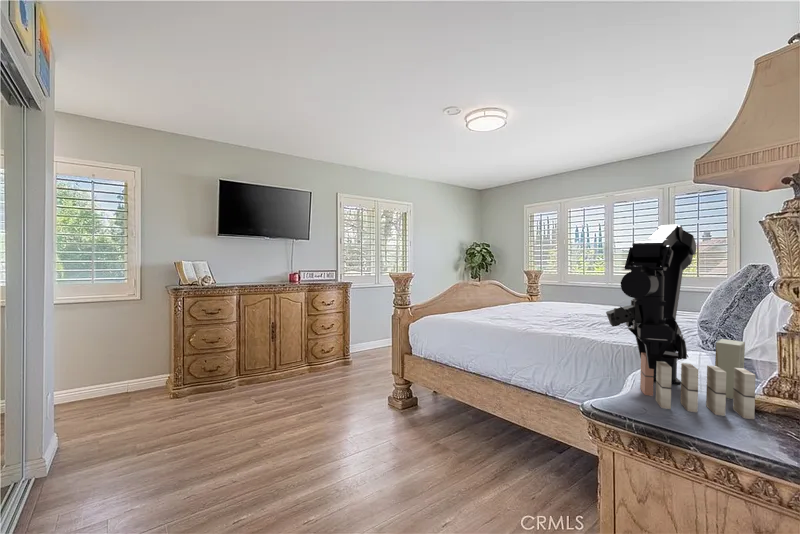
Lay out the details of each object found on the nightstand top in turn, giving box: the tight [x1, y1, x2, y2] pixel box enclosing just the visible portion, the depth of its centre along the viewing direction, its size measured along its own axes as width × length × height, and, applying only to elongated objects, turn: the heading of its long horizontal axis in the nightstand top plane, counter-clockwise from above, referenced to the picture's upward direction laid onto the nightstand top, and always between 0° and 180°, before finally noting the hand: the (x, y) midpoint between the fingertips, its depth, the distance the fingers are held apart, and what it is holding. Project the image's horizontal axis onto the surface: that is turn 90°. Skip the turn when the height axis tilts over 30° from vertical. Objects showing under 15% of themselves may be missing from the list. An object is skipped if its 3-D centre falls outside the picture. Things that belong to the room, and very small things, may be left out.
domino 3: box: [732, 367, 756, 420], centre depth 79 cm, size 5×2×8 cm, turn 159°
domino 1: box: [639, 352, 654, 397], centre depth 92 cm, size 5×2×8 cm, turn 159°
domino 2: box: [680, 362, 699, 413], centre depth 82 cm, size 5×2×8 cm, turn 159°
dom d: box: [705, 364, 727, 417], centre depth 80 cm, size 5×2×8 cm, turn 159°
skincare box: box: [714, 338, 746, 400], centre depth 90 cm, size 6×4×12 cm
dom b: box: [655, 361, 672, 410], centre depth 84 cm, size 5×2×8 cm, turn 159°
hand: (647, 363), depth 92 cm, fingers open, 9 cm apart
